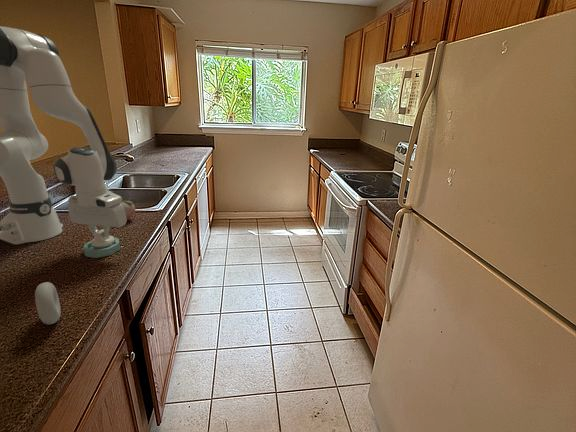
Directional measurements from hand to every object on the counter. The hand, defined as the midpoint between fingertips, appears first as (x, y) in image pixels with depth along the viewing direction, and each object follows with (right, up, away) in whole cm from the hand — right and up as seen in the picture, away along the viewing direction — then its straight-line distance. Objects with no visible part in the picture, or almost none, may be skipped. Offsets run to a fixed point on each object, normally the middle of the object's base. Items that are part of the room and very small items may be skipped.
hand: (101, 235), depth 109 cm
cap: (0, -3, +1) cm, 3 cm away
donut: (+8, -19, -33) cm, 39 cm away
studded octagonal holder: (0, -5, +2) cm, 5 cm away
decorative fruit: (-6, +5, +28) cm, 29 cm away
